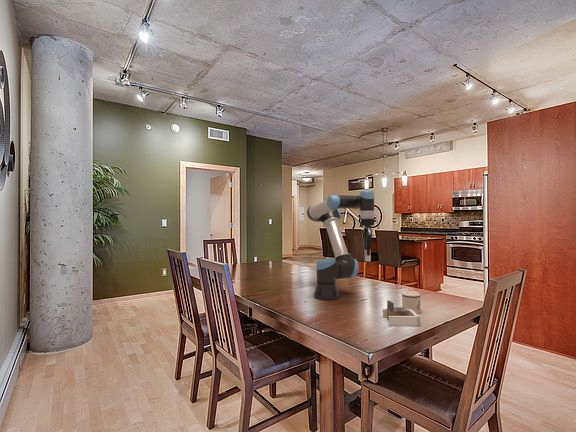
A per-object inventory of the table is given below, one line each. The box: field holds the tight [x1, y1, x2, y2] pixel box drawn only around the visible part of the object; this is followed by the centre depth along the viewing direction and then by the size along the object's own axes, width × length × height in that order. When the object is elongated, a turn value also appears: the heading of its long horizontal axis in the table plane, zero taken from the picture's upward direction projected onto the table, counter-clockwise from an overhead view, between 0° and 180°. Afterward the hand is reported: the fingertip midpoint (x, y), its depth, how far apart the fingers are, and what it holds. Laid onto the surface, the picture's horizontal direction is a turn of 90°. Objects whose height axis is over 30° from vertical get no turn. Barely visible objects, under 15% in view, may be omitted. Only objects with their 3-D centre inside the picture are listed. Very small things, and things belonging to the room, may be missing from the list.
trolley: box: [386, 300, 409, 322], centre depth 145 cm, size 8×6×9 cm
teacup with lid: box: [401, 287, 421, 315], centre depth 161 cm, size 12×9×12 cm
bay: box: [382, 308, 421, 327], centre depth 145 cm, size 14×12×4 cm
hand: (367, 261), depth 171 cm, fingers closed
